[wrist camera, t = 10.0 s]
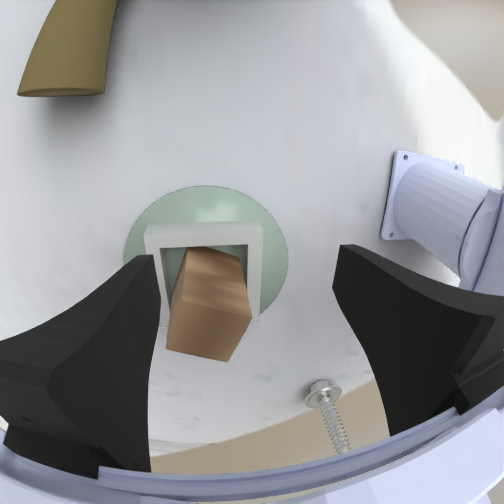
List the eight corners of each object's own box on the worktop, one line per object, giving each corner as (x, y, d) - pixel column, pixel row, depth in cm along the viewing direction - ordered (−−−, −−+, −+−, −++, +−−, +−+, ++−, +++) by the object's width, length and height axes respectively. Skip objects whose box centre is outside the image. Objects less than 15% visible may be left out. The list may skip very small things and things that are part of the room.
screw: (331, 369, 31) (339, 384, 34) (296, 385, 32) (307, 399, 34) (369, 457, 20) (373, 463, 22) (324, 476, 20) (334, 479, 23)
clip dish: (292, 184, 20) (302, 193, 18) (279, 321, 26) (285, 339, 24) (114, 192, 18) (103, 202, 16) (142, 328, 24) (138, 346, 22)
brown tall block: (239, 256, 21) (252, 317, 15) (221, 297, 23) (227, 362, 17) (188, 241, 20) (182, 299, 14) (174, 284, 22) (165, 348, 16)
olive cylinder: (42, 85, 8) (110, -77, 4) (4, 98, 9) (53, -41, 5) (123, 92, 14) (166, -42, 9) (71, 97, 15) (107, -21, 11)
